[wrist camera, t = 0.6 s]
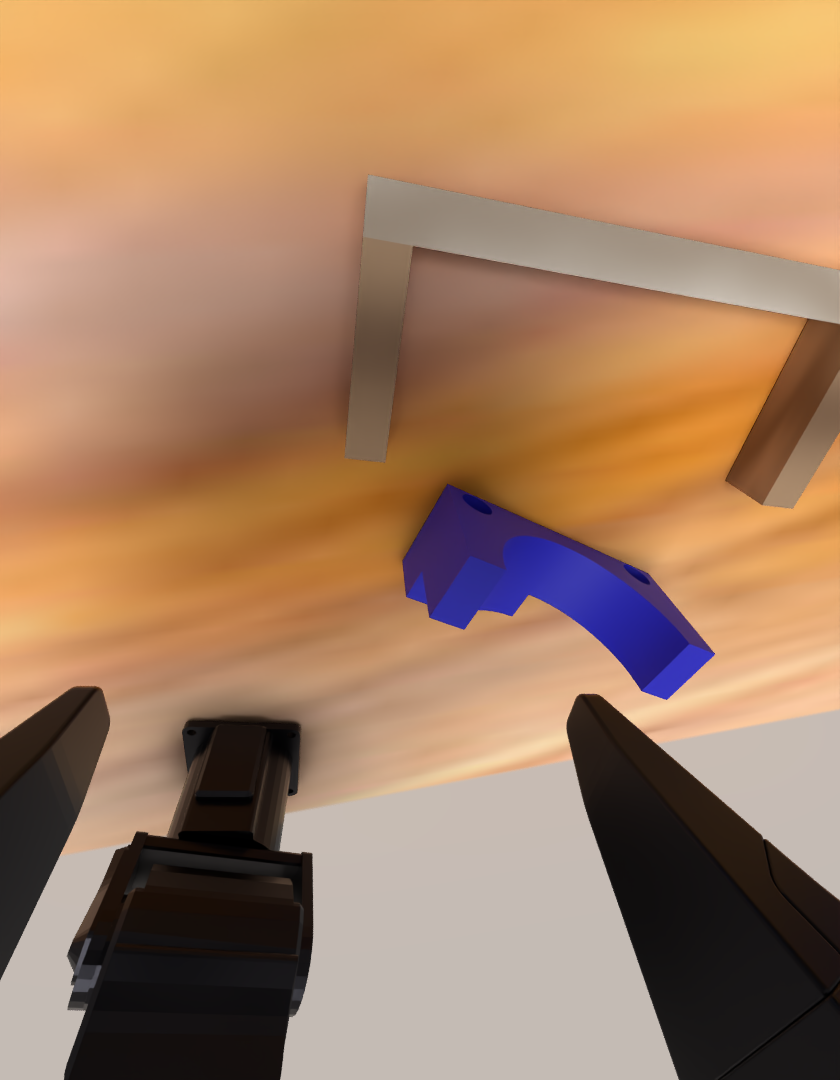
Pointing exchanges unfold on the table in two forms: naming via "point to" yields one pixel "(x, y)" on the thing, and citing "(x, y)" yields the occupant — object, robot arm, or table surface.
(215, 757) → the robot arm
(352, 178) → the table surface
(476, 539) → the cable clip
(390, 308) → the slot rails
